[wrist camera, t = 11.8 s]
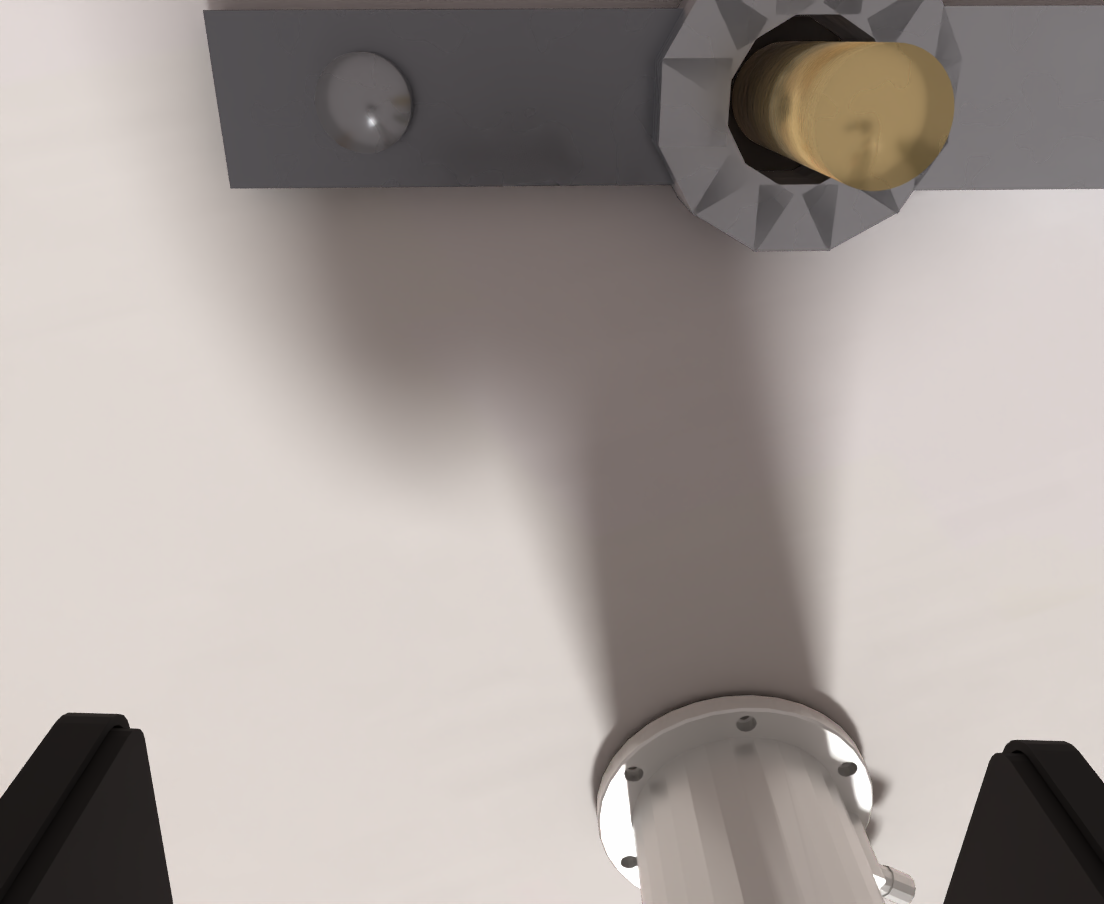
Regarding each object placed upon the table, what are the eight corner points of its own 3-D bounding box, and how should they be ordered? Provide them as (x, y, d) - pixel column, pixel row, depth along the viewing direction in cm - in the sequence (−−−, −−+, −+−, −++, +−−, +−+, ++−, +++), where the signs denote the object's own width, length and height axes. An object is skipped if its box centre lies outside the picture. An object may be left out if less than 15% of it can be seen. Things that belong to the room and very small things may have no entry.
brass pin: (851, 75, 28) (983, 91, 20) (792, 166, 29) (894, 215, 21) (770, 20, 28) (873, 12, 19) (712, 115, 29) (786, 146, 20)
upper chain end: (1367, -61, 27) (1490, -74, 24) (1270, 227, 31) (1364, 251, 27) (652, -59, 26) (672, -73, 23) (641, 233, 30) (656, 259, 27)
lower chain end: (939, -60, 27) (974, -68, 25) (893, 230, 30) (920, 245, 28) (209, -58, 26) (181, -66, 24) (252, 237, 30) (232, 252, 28)
